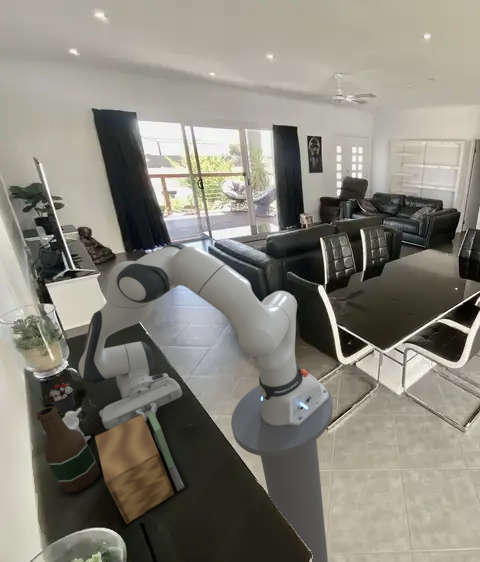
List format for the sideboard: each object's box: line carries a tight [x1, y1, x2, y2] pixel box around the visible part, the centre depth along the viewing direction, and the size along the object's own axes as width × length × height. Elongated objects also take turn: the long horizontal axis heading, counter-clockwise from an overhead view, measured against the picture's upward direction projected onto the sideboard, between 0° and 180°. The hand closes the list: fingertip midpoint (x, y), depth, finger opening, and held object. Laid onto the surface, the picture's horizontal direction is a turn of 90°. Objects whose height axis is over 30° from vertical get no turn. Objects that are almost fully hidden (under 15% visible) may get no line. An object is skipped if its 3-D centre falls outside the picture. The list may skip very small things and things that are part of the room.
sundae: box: [44, 377, 84, 421], centre depth 100 cm, size 7×7×15 cm
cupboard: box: [94, 414, 185, 525], centre depth 83 cm, size 12×24×15 cm, turn 45°
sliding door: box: [147, 411, 175, 469], centre depth 87 cm, size 2×8×14 cm, turn 45°
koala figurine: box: [43, 407, 92, 443], centre depth 91 cm, size 8×7×12 cm
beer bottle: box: [36, 405, 101, 493], centre depth 80 cm, size 8×8×24 cm
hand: (149, 417), depth 94 cm, fingers closed
